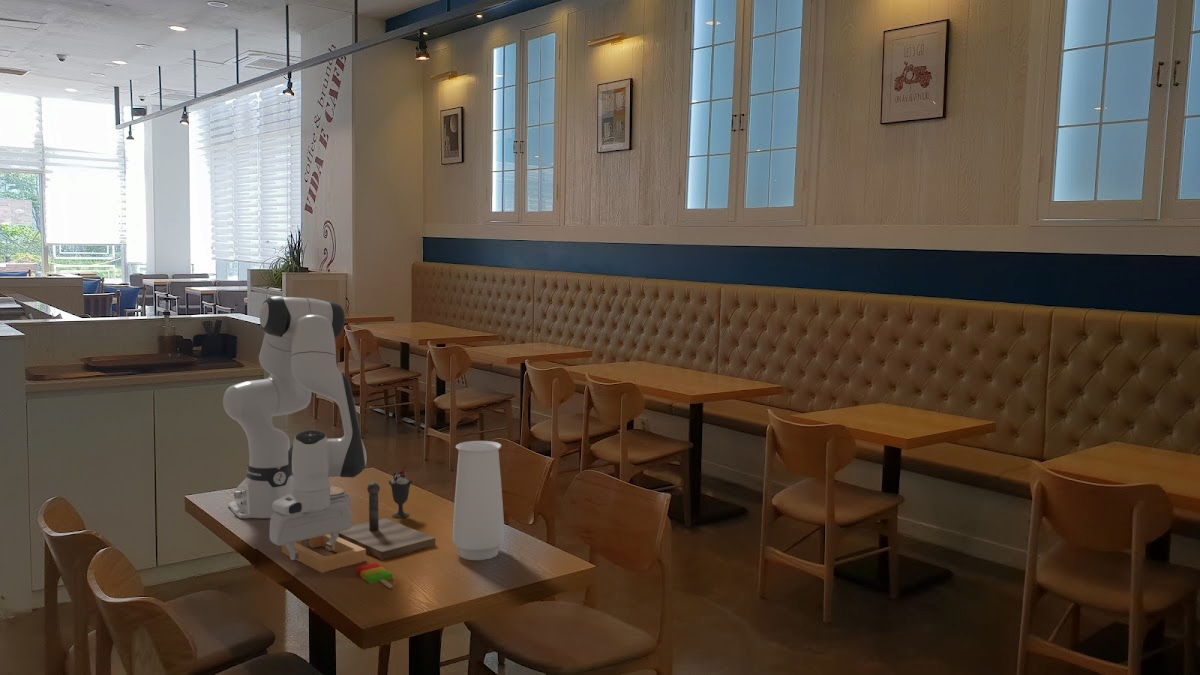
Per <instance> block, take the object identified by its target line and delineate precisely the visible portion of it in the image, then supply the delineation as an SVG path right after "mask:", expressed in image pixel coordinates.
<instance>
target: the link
mask: <svg viewBox="0 0 1200 675" xmlns="http://www.w3.org/2000/svg"><path fill="white" fill-rule="evenodd" d="M330 537H331V535H329V534H327V535H323V536H319V537H314V538H310V539H308V541H309V542H308V545H309V546H310V547H311V548H317V547H321V546H323V547H324V548H326V543H327V542H329V539H330ZM292 548H293V549H294V551H295V550H296V551H298V552H299V555H298V556H299V559H296V560H295V561H298V562H300V563H301V562H302V563H301V564H304V565H305V566H308V567H309V568H312V569H313V570H315V571H317V572H319V573H321V574H323V573H326V572H330V570H331V571H333V570H338V569H342V568H344V567H348V566H352V565H357V564H360V563H364V562H366V561H367V553H366V549H364V548H362V547H360V546H358V545H355V544H353V543H351V542H349V541H347V540H344V539H342V538H340V537H338V538H337V540H336V542H335V543H334V550H332V551H333V552H336V553H334V554H330V555H326V556H325V555H322V554H320V553H318V552H316V551H314V550H313V549H310V548H308V547H306V546H304V545H303V540H302V541H297V542H294V547H292ZM281 553H282V554H284V555H286V556H288V557H290V552H289V551H288V549H287V548H286V546H285V545H281ZM341 567H342V568H341ZM337 568H338V569H337Z"/></svg>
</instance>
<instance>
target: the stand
mask: <svg viewBox="0 0 1200 675" xmlns="http://www.w3.org/2000/svg"><path fill="white" fill-rule="evenodd" d="M380 489H381V487H380V485H379V484H378V483H377V482H370V483H369V484H368V485H367V493H368V519H369V520H368V521H365V522H361V523H356V524H352V526H351V527H350V529H348V530H344V531H340V532H339V536H338V537H340V538H342V539H344V540H347V541H349V542H351V543H353V544H355V545H358V546H360V547H362V548H364V549H366V552H367V553H366V554H368V553H369V554H368V555H371V554H372V555H371V556H373V555H374V556H373V557H375V556H376V557H375V558H377V557H378V559H379V558H380V560H382V559H383V560H386V559H385V558H387V559H390V558H394V557H398V556H401V555H404V553H405V554H407V553H408V552H409V553H411V551H412V552H415V550H416V551H419V550H418V549H420V550H423V549H422V548H424V549H427V548H430V546H431V547H434V545H435V546H436V537H434V536H432V535H429V534H427V533H424V532H422V531H419V530H417V529H414V528H412V527H409V526H406V525H404V524H401V523H398V522H395V521H393V520H391V519H388V518H386V517H382V518H379V492H380ZM400 554H401V555H400ZM397 555H398V556H397ZM393 556H394V557H393ZM389 557H390V558H389Z"/></svg>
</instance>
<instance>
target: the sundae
mask: <svg viewBox="0 0 1200 675" xmlns="http://www.w3.org/2000/svg"><path fill="white" fill-rule="evenodd" d="M406 468H407V466H406V465H404V466H403V468H402V469H401V470H400V471H399V472H394V473H393V476H392V477H393V478H392V480H388V485H389V486H391V493H392V499H393V502H394V503H396V504H397V505H398V510H397V513H394V514H392V515H391V517H392V518H393V517H394V518H393V519H398V518H401V519H407V518H409V517H410V513H407V512H406V513H405V511H404V508H403V506H404V504H405V503H406V502H407V501H408V498H409V494H410V493H409V492H410V488H411V484H412V483H413V481H412V480H411V479H408V476H407V474H406V473H405V469H406ZM408 516H409V517H408ZM406 517H407V518H406Z"/></svg>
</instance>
